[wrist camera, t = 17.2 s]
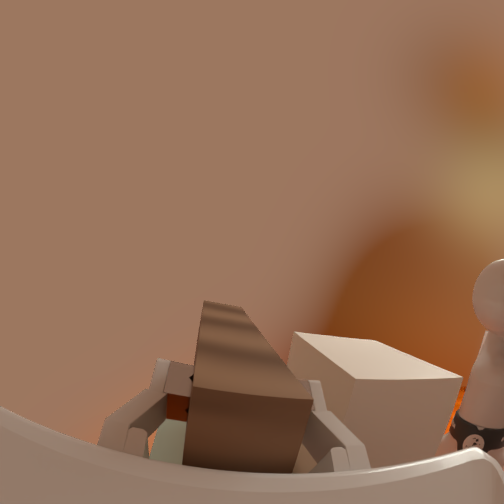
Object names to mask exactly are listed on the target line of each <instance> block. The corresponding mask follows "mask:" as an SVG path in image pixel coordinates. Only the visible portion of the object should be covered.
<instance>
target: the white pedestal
mask: <svg viewBox="0 0 504 504" xmlns="http://www.w3.org/2000/svg"><path fill="white" fill-rule="evenodd" d="M287 367H288V368H289V369H290V371H291V372H292V373H293V374H294V376H295V377H296V378H297V379H306V380H318V381H320V383H321V387H322V391H323V395H324V400H325V404H326V408H327V411H331V412H332V413H333V414H334V415H335V416H336V417H337V418H338V419H339V420H340V421H341V422H342V423H343V424H344V425H345V426H346V427H347V428H348V429H349V430H350V431H351V432H352V433H353V434H354V435H355V436H356V437H357V438H358V439H359V440H360V441H361V442H362V443H363V444H364V445H365V448H366V451H367V455H368V459H369V463H370V466H371V468H378V467H385V466H392V465H398V464H403V463H409V462H414V461H419V460H423V459H428V458H432V457H435V454H436V452H437V450H438V447H439V445H440V443H441V440H442V438H443V435H444V433H445V430H446V427H447V425H448V422H449V419H450V417H451V414H452V411H453V408H454V405H455V402H456V399H457V396H458V393H459V390H460V386H461V383H462V380H463V377H461V376H459V375H457V374H454V373H452V372H449V371H447V370H444V369H442V368H439V367H437V366H434V365H432V364H430V363H427V362H425V361H422V360H420V359H418V358H415V357H413V356H411V355H408V354H406V353H403V352H401V351H399V350H396V349H394V348H392V347H389V346H387V345H384V344H382V343H380V342H378V341H375V340H364V339H354V338H344V337H334V336H325V335H317V334H307V333H300V332H294V334H293V339H292V344H291V348H290V354H289V358H288V363H287ZM316 465H317V463H316V461H315V460H314V459H313V457H312V456H311V455H310V453H309V452H308V451H307V449H306V448H305V447H304V445H303V444H302V443H301V447H300V450H299V453H298V456H297V460H296V463H295V466H294V469H293V472H292V474H302V473H309V472H310V471H311V470H312V469H313V468H314V467H315V466H316Z"/></svg>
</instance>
